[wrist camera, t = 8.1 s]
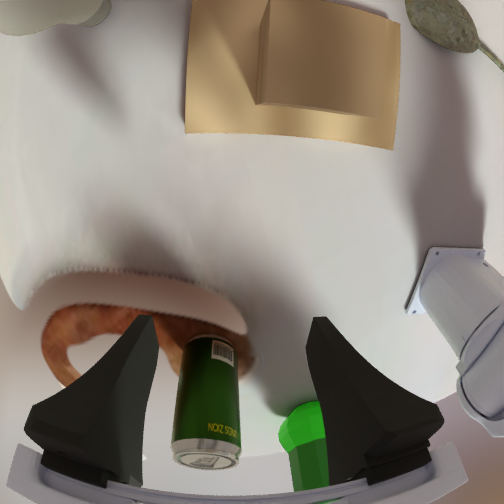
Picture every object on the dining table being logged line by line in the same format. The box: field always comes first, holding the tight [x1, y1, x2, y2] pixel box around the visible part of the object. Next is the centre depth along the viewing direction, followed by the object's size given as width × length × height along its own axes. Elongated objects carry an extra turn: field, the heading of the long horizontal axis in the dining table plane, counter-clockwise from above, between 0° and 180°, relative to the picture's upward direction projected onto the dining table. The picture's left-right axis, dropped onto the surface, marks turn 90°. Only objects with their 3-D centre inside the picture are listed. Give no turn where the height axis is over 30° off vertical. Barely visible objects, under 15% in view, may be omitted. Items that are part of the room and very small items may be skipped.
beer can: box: [171, 334, 241, 470], centre depth 21 cm, size 5×5×12 cm
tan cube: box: [256, 0, 386, 119], centre depth 12 cm, size 6×6×6 cm
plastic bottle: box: [278, 401, 336, 504], centre depth 23 cm, size 10×10×25 cm
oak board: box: [185, 0, 400, 150], centre depth 15 cm, size 14×10×1 cm
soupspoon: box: [405, 0, 504, 72], centre depth 13 cm, size 22×3×7 cm
